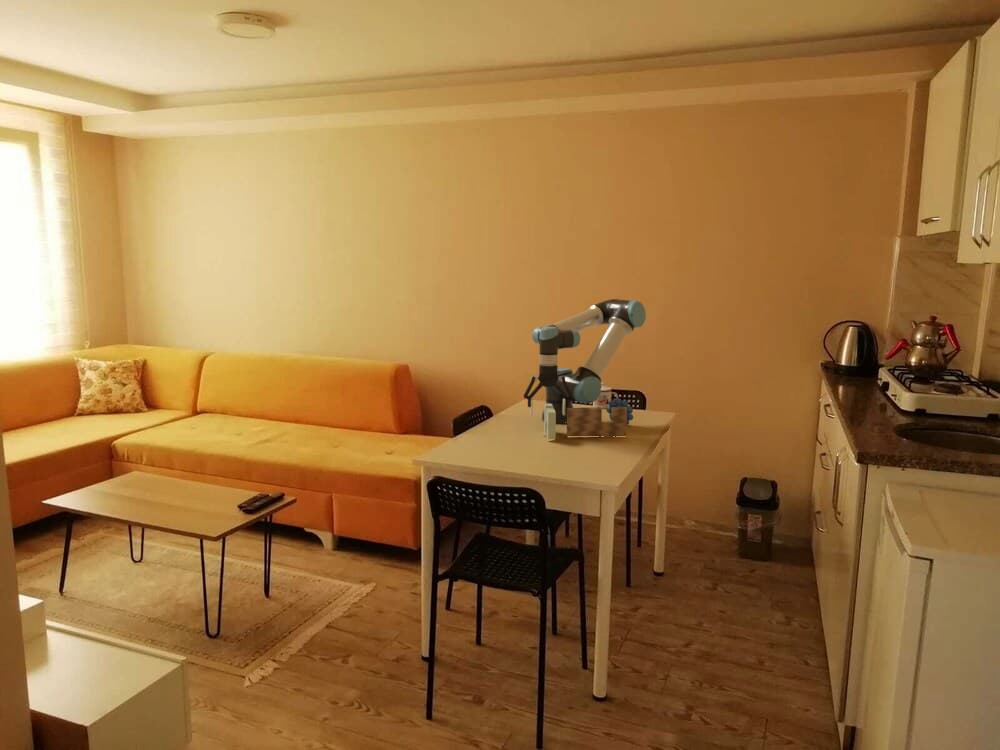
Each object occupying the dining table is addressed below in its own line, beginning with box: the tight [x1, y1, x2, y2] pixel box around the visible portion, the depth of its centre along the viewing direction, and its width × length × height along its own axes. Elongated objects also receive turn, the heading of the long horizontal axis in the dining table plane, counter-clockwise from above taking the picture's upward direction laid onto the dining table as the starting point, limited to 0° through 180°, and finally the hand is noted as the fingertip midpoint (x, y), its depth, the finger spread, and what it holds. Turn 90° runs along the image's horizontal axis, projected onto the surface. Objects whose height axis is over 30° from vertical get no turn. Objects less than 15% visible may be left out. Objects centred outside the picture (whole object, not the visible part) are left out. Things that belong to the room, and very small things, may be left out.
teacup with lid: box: [592, 382, 619, 409], centre depth 351 cm, size 12×9×12 cm
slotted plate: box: [543, 403, 557, 439], centre depth 298 cm, size 16×3×12 cm, turn 2°
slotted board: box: [566, 407, 628, 437], centre depth 296 cm, size 24×3×12 cm, turn 92°
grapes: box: [606, 397, 634, 426], centre depth 315 cm, size 12×7×12 cm, turn 71°
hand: (547, 414), depth 303 cm, fingers open, 13 cm apart
